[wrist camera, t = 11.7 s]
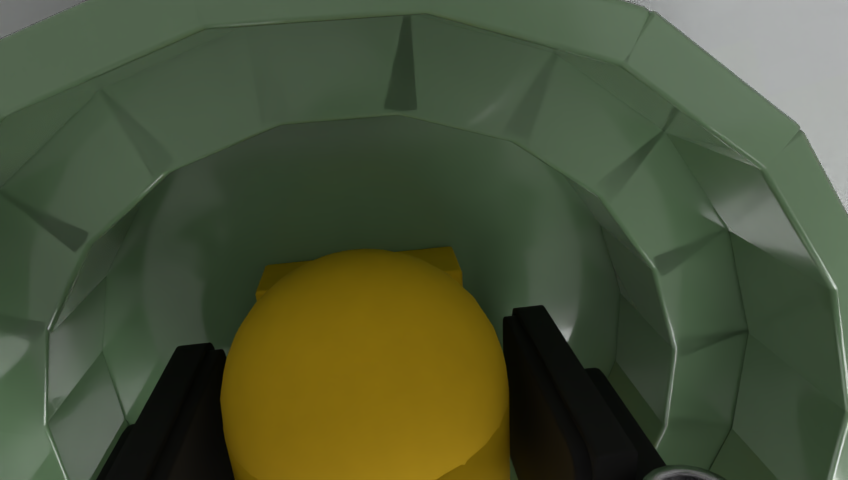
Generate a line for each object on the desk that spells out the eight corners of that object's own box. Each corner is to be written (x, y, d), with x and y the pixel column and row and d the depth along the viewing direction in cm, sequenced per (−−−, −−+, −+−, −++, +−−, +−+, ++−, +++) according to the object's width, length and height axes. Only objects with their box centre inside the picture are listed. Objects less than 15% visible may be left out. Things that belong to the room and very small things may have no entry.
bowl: (-112, 9, 9) (-593, 5, 5) (729, -47, 10) (1037, -96, 6) (122, 610, 14) (12, 890, 10) (658, 532, 16) (786, 752, 11)
